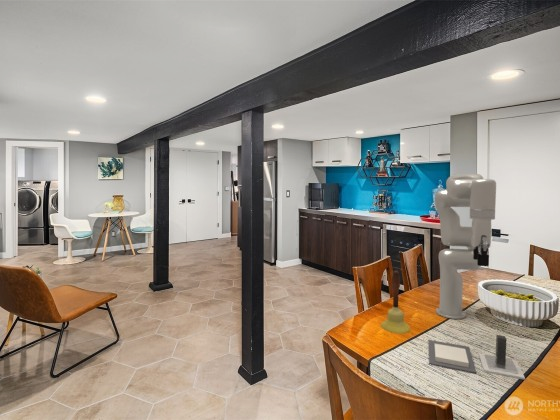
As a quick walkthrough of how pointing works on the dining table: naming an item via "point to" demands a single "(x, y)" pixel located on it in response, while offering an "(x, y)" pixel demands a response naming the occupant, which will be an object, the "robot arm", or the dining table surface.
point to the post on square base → (500, 357)
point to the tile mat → (451, 366)
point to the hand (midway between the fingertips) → (480, 262)
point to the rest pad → (486, 369)
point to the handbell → (395, 311)
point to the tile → (451, 355)
